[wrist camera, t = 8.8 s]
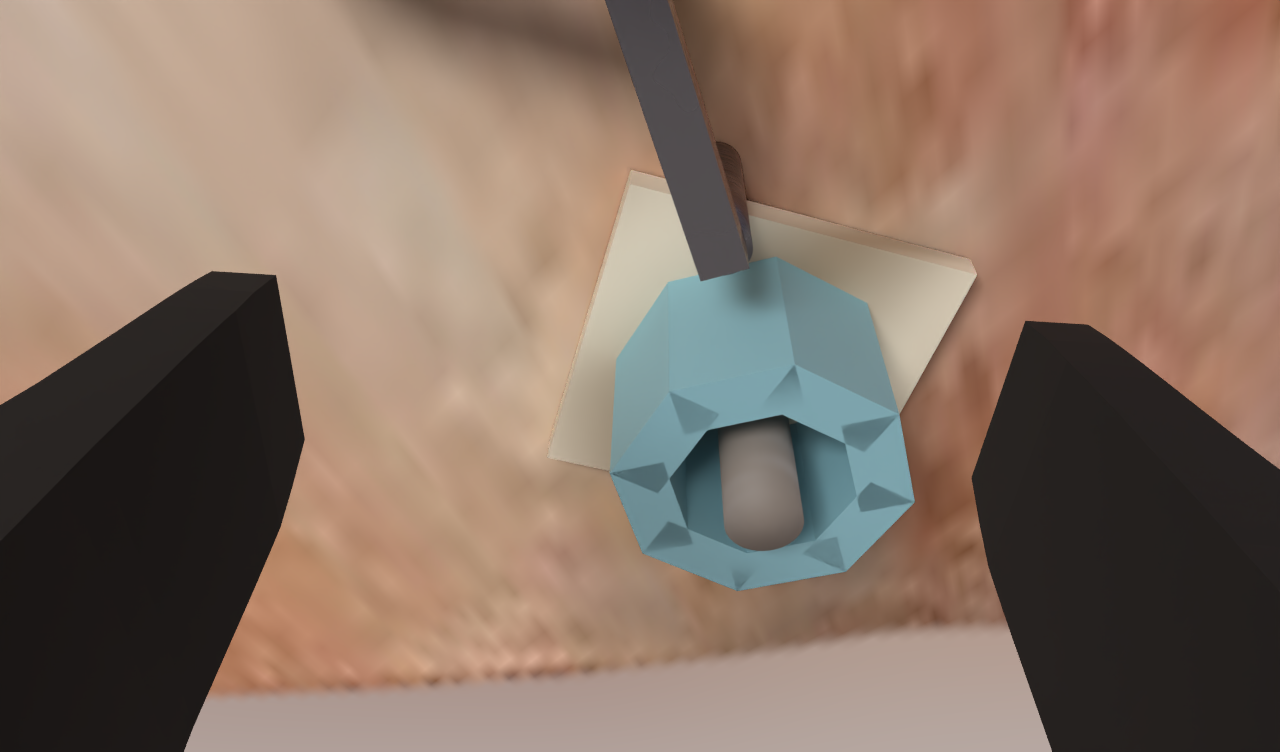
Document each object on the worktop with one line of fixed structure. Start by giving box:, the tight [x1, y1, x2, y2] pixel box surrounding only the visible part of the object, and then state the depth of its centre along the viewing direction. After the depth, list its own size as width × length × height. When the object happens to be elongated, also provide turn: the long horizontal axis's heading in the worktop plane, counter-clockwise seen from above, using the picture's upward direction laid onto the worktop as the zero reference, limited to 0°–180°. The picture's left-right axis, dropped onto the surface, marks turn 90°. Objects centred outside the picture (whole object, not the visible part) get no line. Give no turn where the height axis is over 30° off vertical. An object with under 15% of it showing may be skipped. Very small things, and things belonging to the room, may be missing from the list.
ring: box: [610, 257, 915, 591], centre depth 20 cm, size 5×5×4 cm
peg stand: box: [547, 170, 977, 551], centre depth 20 cm, size 7×7×5 cm
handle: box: [605, 0, 753, 281], centre depth 16 cm, size 10×6×4 cm, turn 74°
